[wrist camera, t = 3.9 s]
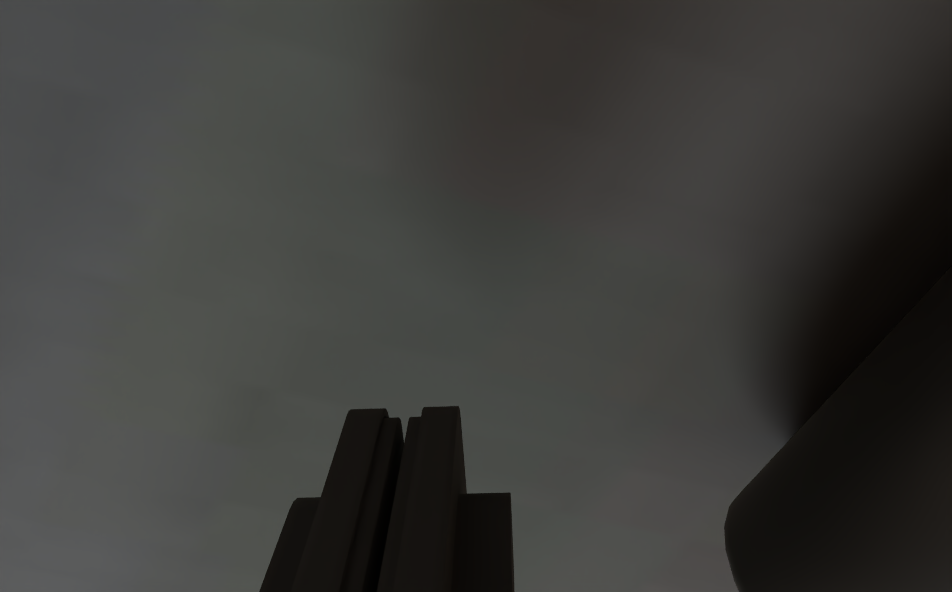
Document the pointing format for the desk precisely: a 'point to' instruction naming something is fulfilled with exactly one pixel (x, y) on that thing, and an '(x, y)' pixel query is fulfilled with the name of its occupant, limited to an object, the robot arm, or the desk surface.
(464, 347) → the desk surface
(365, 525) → the robot arm
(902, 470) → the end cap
